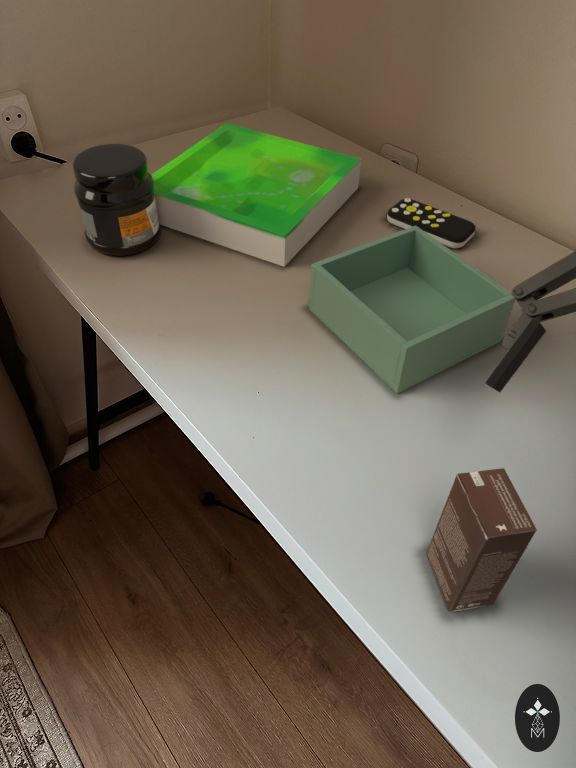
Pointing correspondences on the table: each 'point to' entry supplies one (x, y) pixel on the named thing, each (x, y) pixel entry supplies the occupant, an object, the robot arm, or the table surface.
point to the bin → (408, 306)
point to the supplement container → (116, 199)
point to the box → (479, 539)
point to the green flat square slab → (254, 191)
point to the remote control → (432, 222)
